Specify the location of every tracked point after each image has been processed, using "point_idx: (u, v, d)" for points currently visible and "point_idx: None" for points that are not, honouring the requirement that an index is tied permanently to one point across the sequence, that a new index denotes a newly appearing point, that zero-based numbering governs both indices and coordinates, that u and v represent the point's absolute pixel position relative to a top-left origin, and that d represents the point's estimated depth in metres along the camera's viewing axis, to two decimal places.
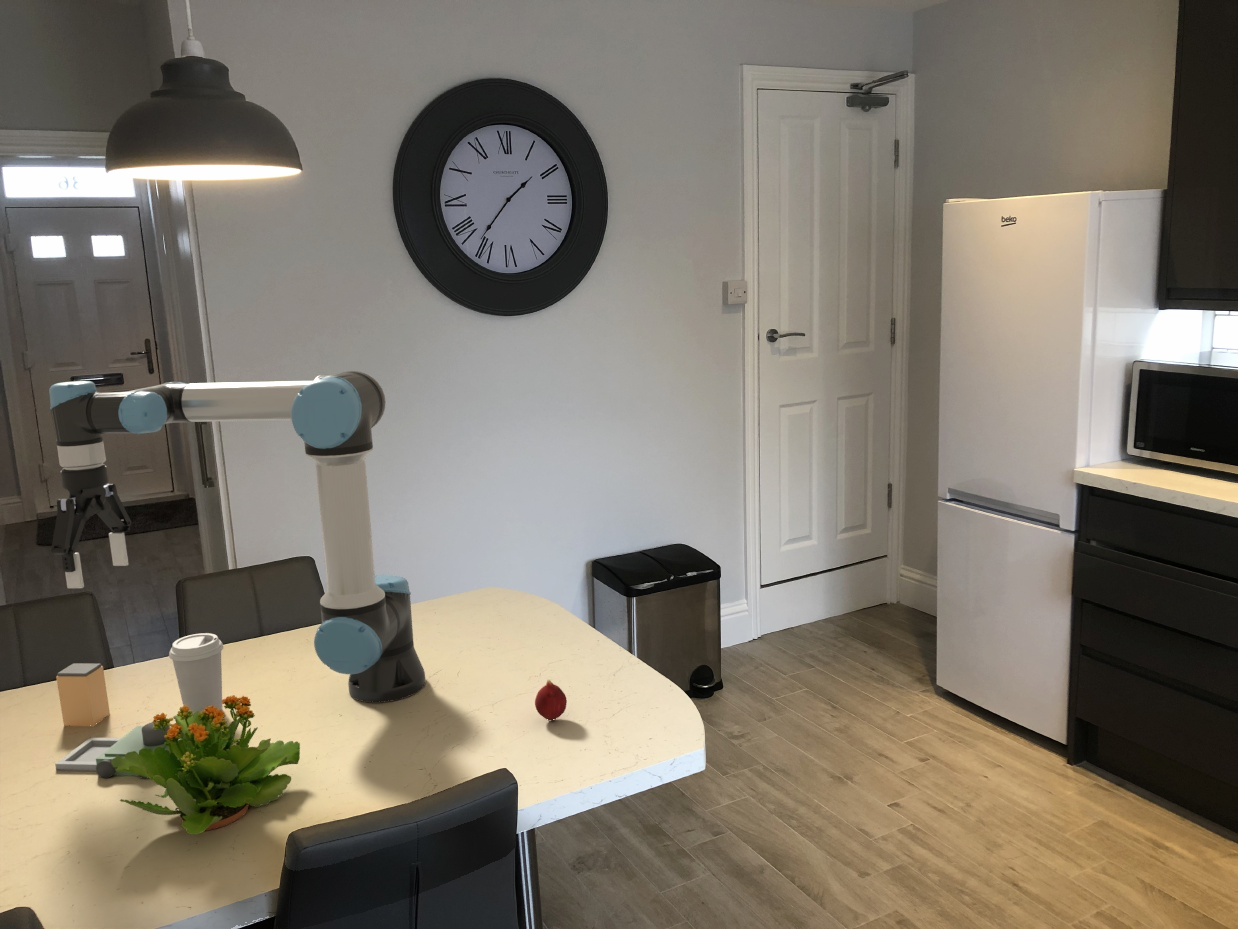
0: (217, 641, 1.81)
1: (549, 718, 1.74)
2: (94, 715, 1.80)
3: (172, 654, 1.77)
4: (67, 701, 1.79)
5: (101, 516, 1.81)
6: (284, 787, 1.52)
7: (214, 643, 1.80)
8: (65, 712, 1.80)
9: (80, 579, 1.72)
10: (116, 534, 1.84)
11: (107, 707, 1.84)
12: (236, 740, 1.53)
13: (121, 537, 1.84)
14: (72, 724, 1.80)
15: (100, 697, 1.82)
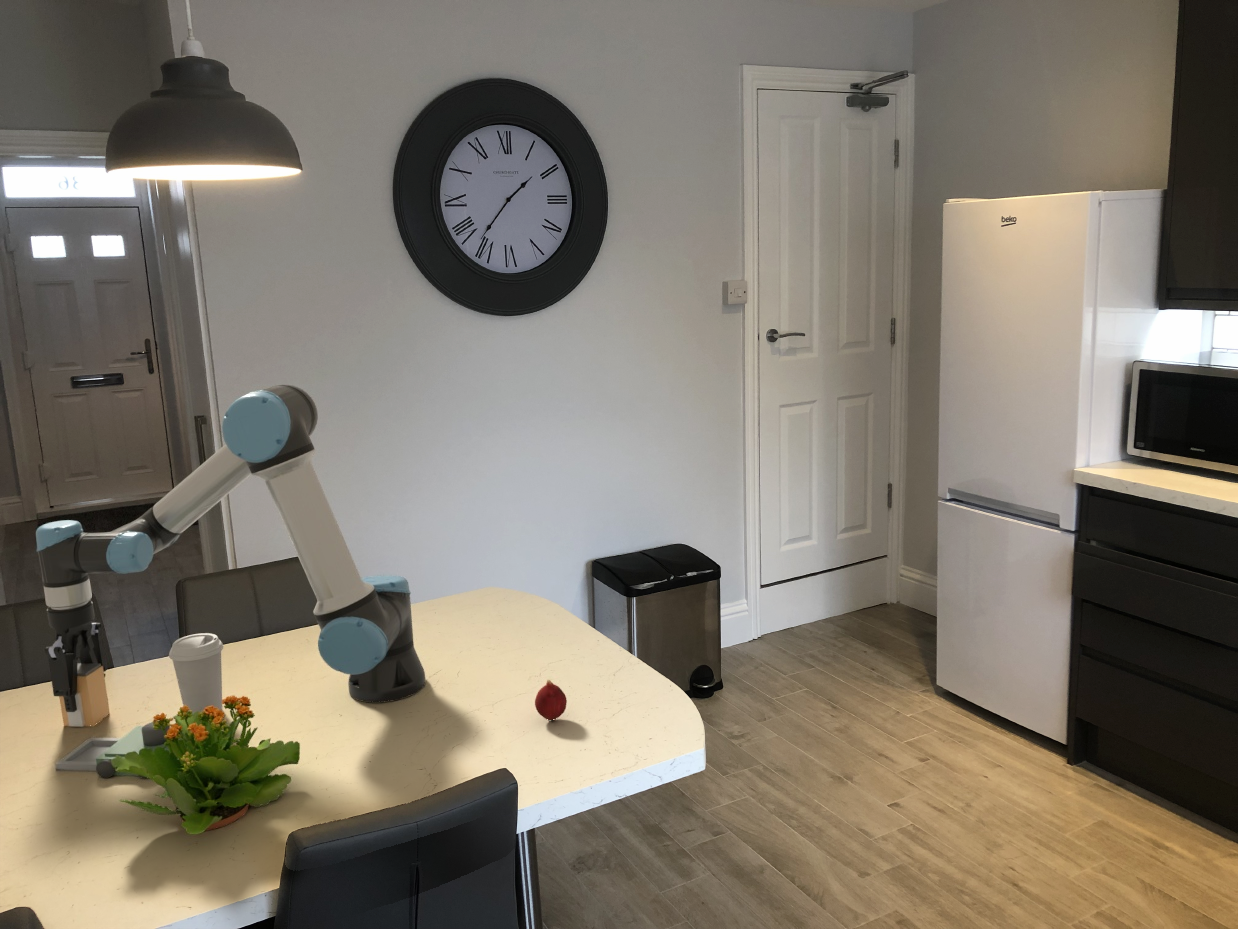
0: (217, 641, 1.81)
1: (549, 718, 1.74)
2: (93, 715, 1.80)
3: (172, 654, 1.77)
4: None
5: (81, 656, 1.82)
6: (284, 787, 1.52)
7: (214, 643, 1.80)
8: (65, 712, 1.80)
9: (81, 718, 1.79)
10: None
11: (106, 707, 1.84)
12: (236, 740, 1.53)
13: None
14: None
15: (100, 697, 1.82)
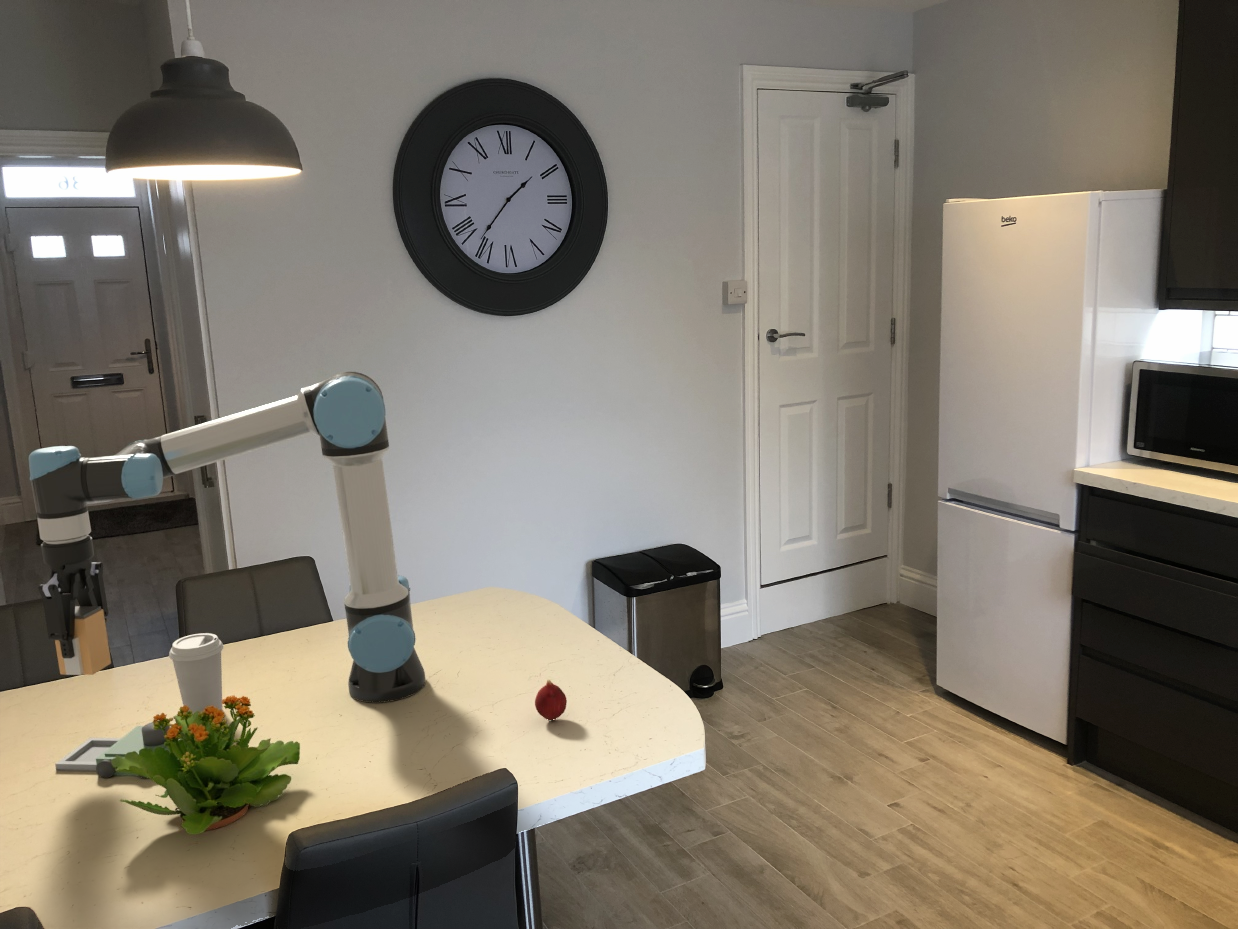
0: (217, 641, 1.81)
1: (549, 718, 1.74)
2: (93, 663, 1.63)
3: (172, 654, 1.77)
4: None
5: (79, 598, 1.65)
6: (284, 787, 1.52)
7: (214, 643, 1.80)
8: (61, 659, 1.63)
9: (79, 665, 1.62)
10: None
11: (107, 655, 1.67)
12: (236, 740, 1.53)
13: None
14: None
15: (100, 643, 1.65)
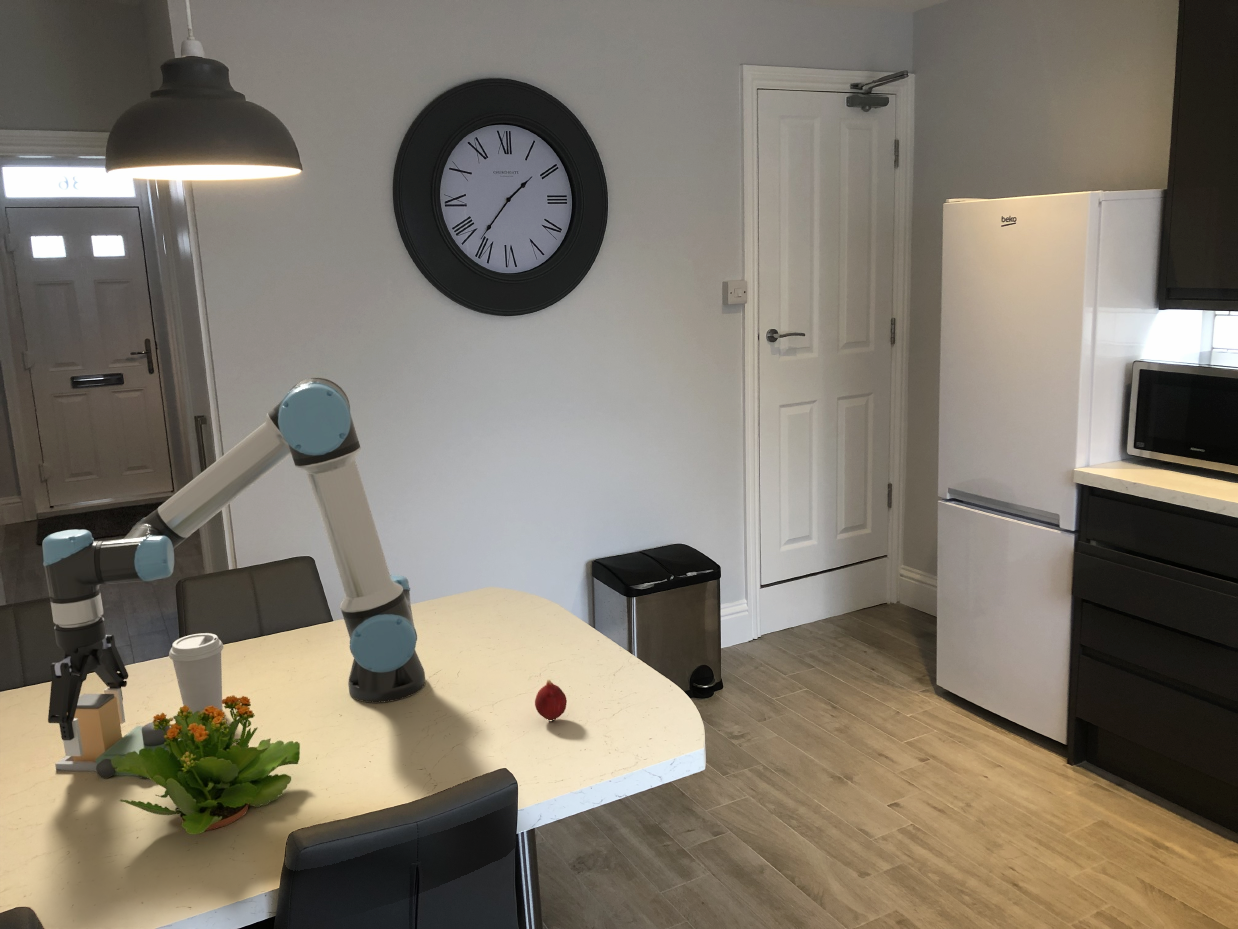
0: (217, 641, 1.81)
1: (549, 718, 1.74)
2: None
3: (172, 654, 1.77)
4: None
5: (97, 671, 1.69)
6: (284, 787, 1.52)
7: (214, 643, 1.80)
8: None
9: (79, 747, 1.60)
10: (112, 691, 1.71)
11: None
12: (236, 740, 1.53)
13: (117, 694, 1.71)
14: (83, 760, 1.65)
15: (113, 730, 1.67)
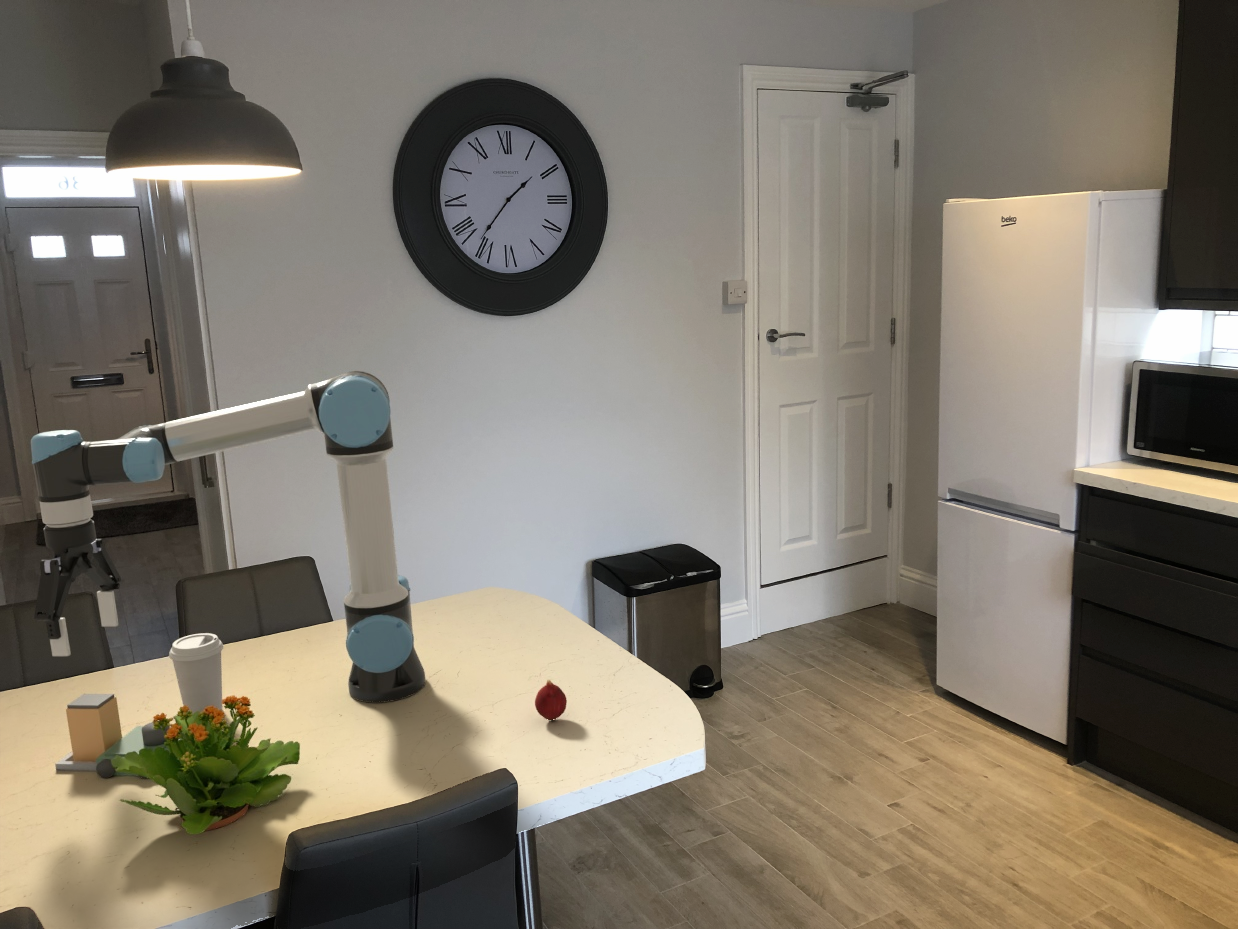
0: (217, 641, 1.81)
1: (549, 718, 1.74)
2: None
3: (172, 654, 1.77)
4: (78, 736, 1.65)
5: (88, 574, 1.67)
6: (284, 787, 1.52)
7: (214, 643, 1.80)
8: (75, 747, 1.65)
9: (66, 646, 1.58)
10: (105, 593, 1.70)
11: None
12: (236, 740, 1.53)
13: (110, 596, 1.70)
14: (83, 760, 1.65)
15: (113, 730, 1.67)
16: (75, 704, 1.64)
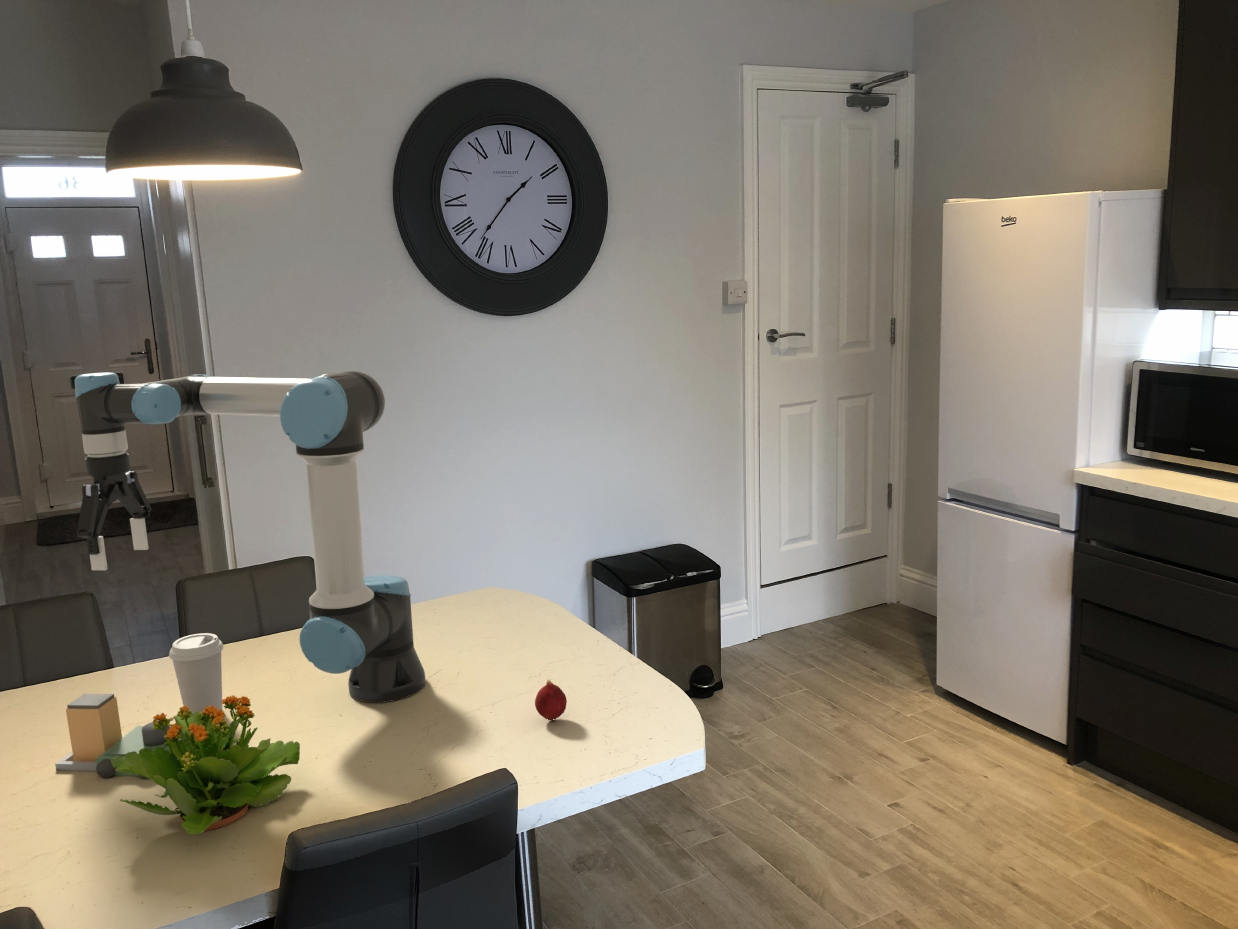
0: (217, 641, 1.81)
1: (549, 718, 1.74)
2: None
3: (172, 654, 1.77)
4: (78, 736, 1.65)
5: (123, 502, 1.89)
6: (284, 787, 1.52)
7: (214, 643, 1.80)
8: (75, 747, 1.65)
9: (104, 562, 1.80)
10: (137, 519, 1.92)
11: None
12: (236, 740, 1.53)
13: (142, 522, 1.92)
14: (83, 760, 1.65)
15: (113, 730, 1.67)
16: (75, 704, 1.64)
